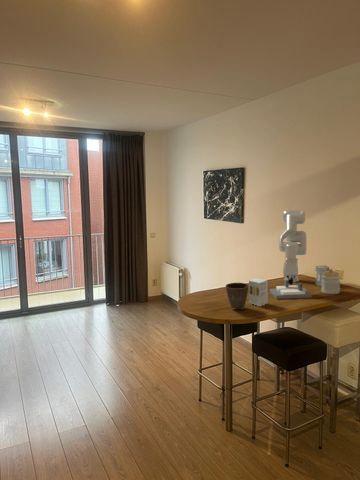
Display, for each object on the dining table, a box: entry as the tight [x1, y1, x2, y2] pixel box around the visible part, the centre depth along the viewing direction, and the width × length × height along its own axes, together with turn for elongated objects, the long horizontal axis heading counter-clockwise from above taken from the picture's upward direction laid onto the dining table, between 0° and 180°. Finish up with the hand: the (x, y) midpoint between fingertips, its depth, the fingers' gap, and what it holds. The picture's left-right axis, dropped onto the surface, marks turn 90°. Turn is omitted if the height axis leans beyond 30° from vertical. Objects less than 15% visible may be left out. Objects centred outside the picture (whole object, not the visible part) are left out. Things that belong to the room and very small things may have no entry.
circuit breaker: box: [314, 265, 330, 287], centre depth 287 cm, size 8×14×15 cm, turn 89°
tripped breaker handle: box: [283, 279, 289, 287], centre depth 270 cm, size 4×2×5 cm, turn 1°
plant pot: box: [225, 282, 249, 310], centre depth 239 cm, size 15×15×16 cm
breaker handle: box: [297, 281, 303, 291], centre depth 260 cm, size 4×2×5 cm, turn 1°
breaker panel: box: [269, 284, 313, 300], centre depth 266 cm, size 18×26×5 cm
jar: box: [320, 268, 341, 295], centre depth 267 cm, size 13×13×18 cm
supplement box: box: [248, 277, 269, 307], centre depth 247 cm, size 10×9×17 cm
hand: (290, 284), depth 270 cm, fingers closed
